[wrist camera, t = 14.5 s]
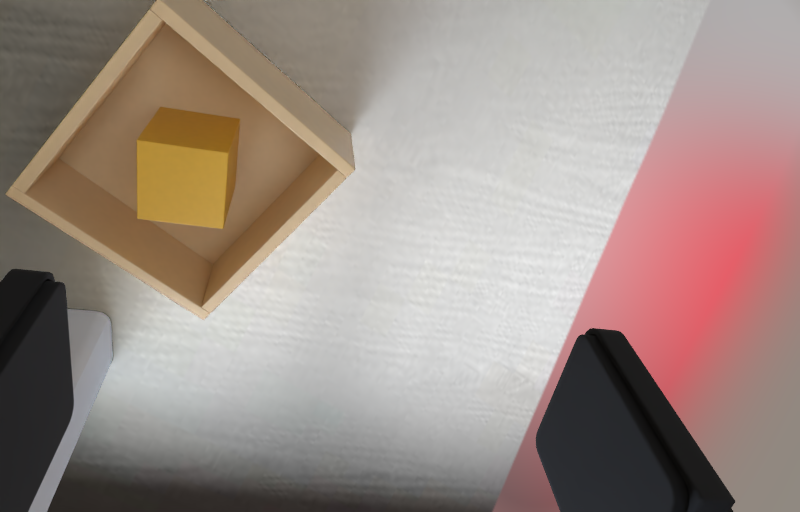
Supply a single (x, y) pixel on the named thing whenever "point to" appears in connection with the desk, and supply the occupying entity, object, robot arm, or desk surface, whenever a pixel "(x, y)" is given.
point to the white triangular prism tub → (79, 389)
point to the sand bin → (198, 92)
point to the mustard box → (187, 168)
